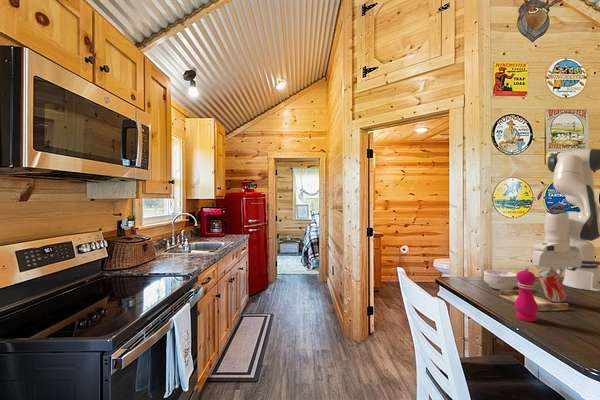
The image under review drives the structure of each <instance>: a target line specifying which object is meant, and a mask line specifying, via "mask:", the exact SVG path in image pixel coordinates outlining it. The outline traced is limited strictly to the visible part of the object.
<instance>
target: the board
mask: <svg viewBox="0 0 600 400" xmlns="http://www.w3.org/2000/svg"><path fill="white" fill-rule="evenodd" d="M498 291H499V292H498V295H499V297H502V298H503V299H506V300H509V301H510V302H513V303H515V302H516V300H517V298H518V296H519V289H512V290H498ZM533 296H534V299H535V301H536V303H537V306H538V312H539V311H568V310H569V303H567V302H552V301H550V300H548V299H547V300H546V299H544V298H541V297H539V296H536V295H534V294H533Z"/></svg>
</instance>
